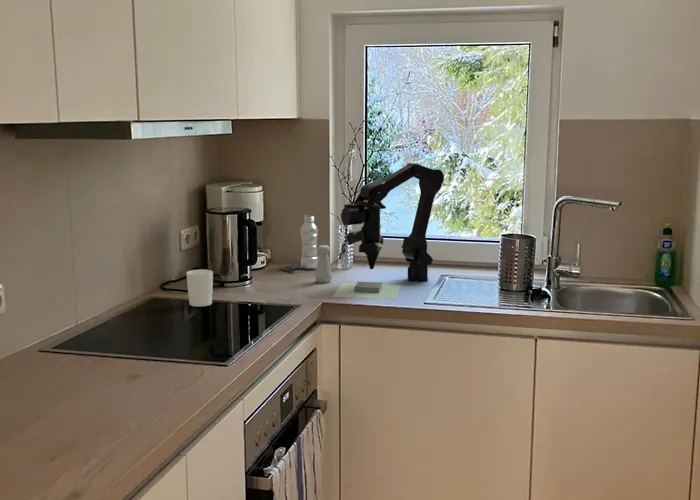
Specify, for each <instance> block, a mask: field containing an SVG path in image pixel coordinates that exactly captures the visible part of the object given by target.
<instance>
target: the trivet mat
mask: <svg viewBox="0 0 700 500" xmlns="http://www.w3.org/2000/svg"><path fill="white" fill-rule="evenodd" d="M356 284H357V282H356V283H352V282H343V283H341V285H340V286H339V288H338V289H337V290H336V291H335V292H334V293H333V295H332V296H331V297H334V298H335V297H337V298H357V299H382V300H383V299H385V300H396V299H397V296H398V294H399V292H400V290H401V287H402V285H401V284H382V288H381V290H380V292H379V293H370V292H355V286H356Z"/></svg>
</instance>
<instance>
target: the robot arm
mask: <svg viewBox="0 0 700 500" xmlns="http://www.w3.org/2000/svg"><path fill="white" fill-rule="evenodd" d="M412 178H415V179H417V180H418V187H419V191H420V195H419V198H418V203H417V207H416V210H415V211H416V212H415V216H414V221H413V224H412V229H411V233H410V234H409V235H408V236H404V237H403V241H402V244H401V249H402V250H401V251H402V252H401V253H402V255H403V256H404V259H405V261H406V263H409V265H408V267H407V280H408V282H413V283H415V282H419V283H420V282H421V283H427V282H429V281H428V280H429V266H431V265H432V263H433V260H434V259H433V257H432V256H431V255H430V254H429V253H428V242H427V237H426V235H427V232H428V231H427V230H428V226H429V222H430V218H431V214H432V209H433V204H434V200H435V197H436V195H437V194H438V192H439V191H440V190H441V188H442V186H443V183H444V180H445V175H444V173H443V172H442V170H441V169H437V168H430V167H426V166H424V165H421V164H419V163H416V162H409V163H407V164H406V165H405V166H403V167H402V168H400V169H398V170H396V171H395V172H393V173H391V174H389V175H388V176H386V177H384V178H383V179H380V180H377V181H376V180H375V181H373V182H370V183H367V184H364V185H363V186H361V188H360V191H359V194H358V195H357V197H356V199H355V201H354V202H353V204H352V203H351V204H349V203H346V204H344V207H343V209H342V210H341V213H340V219H341V223H342V224H343V225H344V226H353V225H362V227H361V229H359V230H357V231H353V230H352V231H351V232H348V233H347V235H345V239H346V240H345V241H346V242H347V243H348V246H351V245H353V244H355V243H357V242H361V243H360V244H359V245H358V253H364V254H365V255H366V258H367V262H368V265H369V267H368V268H369V269H370V270H374V268H375V266H376V263H377V261H378V258H379V255H380V253H381V250H382V246H380V245H384V244H385V243H384V242H385V241H384V240H385V239H384V237H383V236H382V235H381V229H382V224H381V210H385V209H386V208H387V206H386V205H384V204H383V202H382V201H383V200H384V199H385V198H386V197H387V196H388V194H389V193H390V192H392V190H394V189H396V188H398V187H399V186H400V185H402V184H404V183H405V182H407V181H409V180H411V179H412ZM379 244H380V245H379Z"/></svg>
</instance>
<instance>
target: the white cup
mask: <svg viewBox="0 0 700 500" xmlns="http://www.w3.org/2000/svg"><path fill="white" fill-rule="evenodd" d="M185 275H186V285H187V292H188V293H187V295H188V301H189V303H188V304H189V305H190V307H191V306H192V307H197V308H198V307H200V308H201V307H208V306H211V305H212V304H213V288H214V286H213V285H214V271H213V270H210V269H192V270H188V271H186V274H185Z"/></svg>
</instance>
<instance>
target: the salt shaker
mask: <svg viewBox="0 0 700 500" xmlns="http://www.w3.org/2000/svg"><path fill="white" fill-rule="evenodd" d="M330 251H331V248H330V246H329V245H327V244H322V245H321V244H320V245H319V246H318V245H317V254H318V263H317V268H315V269H316V270H315V275H314V276H315V280H316V282H317V283H320V284H328V283H330V282H331V280H332V279H333V274H332V268H331V263H330V258H329V253H330Z"/></svg>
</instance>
